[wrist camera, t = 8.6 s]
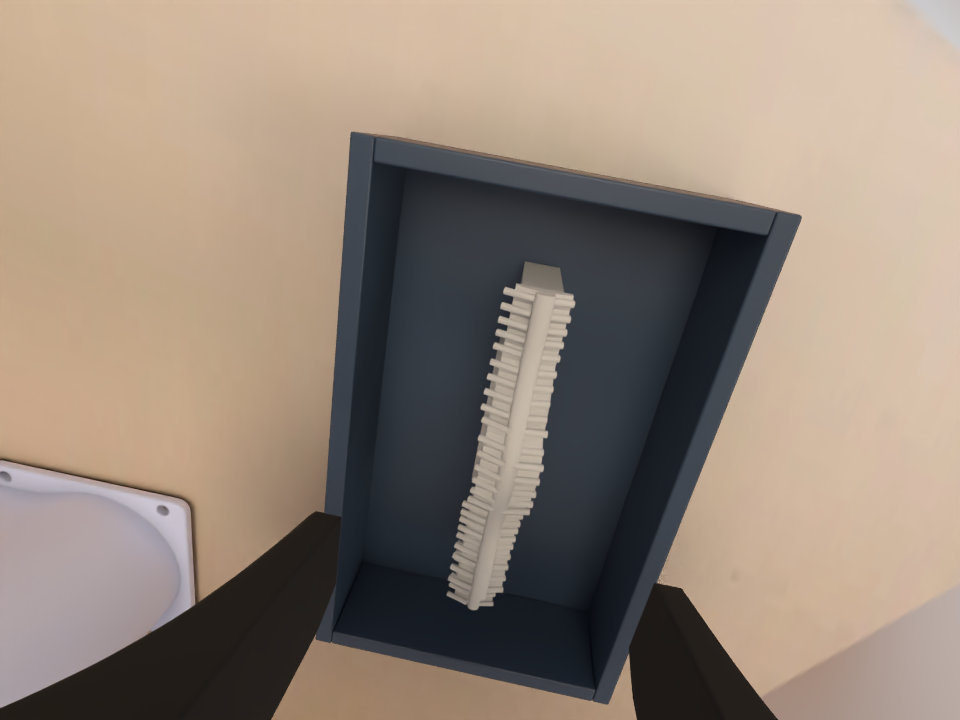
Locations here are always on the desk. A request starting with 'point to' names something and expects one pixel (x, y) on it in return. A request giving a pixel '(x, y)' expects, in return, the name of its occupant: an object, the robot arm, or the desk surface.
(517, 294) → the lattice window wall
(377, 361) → the tote
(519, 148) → the desk surface
